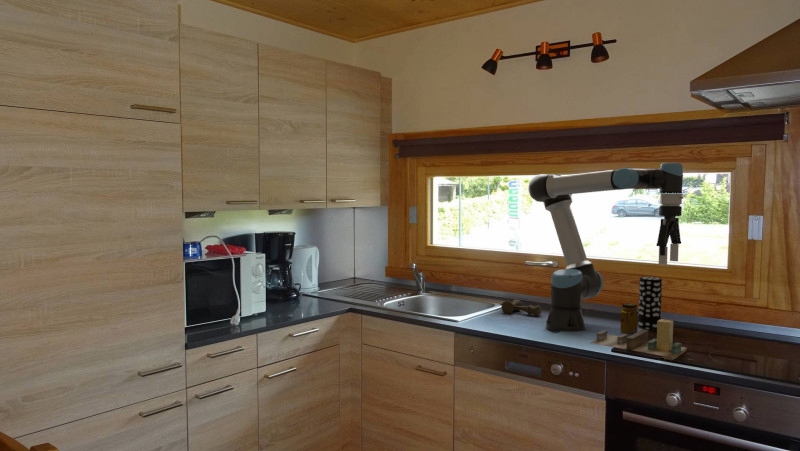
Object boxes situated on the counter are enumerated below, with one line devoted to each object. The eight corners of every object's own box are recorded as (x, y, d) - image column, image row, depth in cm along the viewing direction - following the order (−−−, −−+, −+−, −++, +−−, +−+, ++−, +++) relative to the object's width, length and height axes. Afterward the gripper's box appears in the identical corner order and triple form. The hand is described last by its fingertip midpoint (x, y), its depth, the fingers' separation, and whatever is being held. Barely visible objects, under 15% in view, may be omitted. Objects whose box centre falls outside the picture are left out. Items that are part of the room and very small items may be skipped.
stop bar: (656, 349, 198) (657, 320, 197) (660, 347, 201) (661, 319, 200) (668, 352, 195) (669, 322, 194) (672, 349, 198) (673, 320, 197)
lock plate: (589, 345, 207) (589, 331, 206) (606, 336, 219) (607, 323, 219) (673, 360, 189) (673, 345, 188) (686, 350, 201) (687, 336, 200)
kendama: (534, 319, 250) (494, 312, 263) (544, 316, 258) (504, 309, 270) (535, 306, 250) (494, 299, 263) (545, 303, 257) (505, 296, 270)
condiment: (616, 332, 226) (617, 302, 225) (639, 333, 225) (640, 302, 224) (623, 337, 218) (623, 306, 218) (645, 337, 218) (646, 306, 217)
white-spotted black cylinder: (662, 326, 236) (663, 277, 235) (658, 330, 229) (660, 280, 228) (640, 323, 240) (641, 276, 239) (636, 327, 234) (637, 278, 232)
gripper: (671, 206, 201) (669, 266, 202) (690, 204, 219) (688, 260, 221) (648, 205, 205) (646, 265, 207) (669, 204, 224) (667, 258, 226)
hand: (668, 262), depth 214 cm, fingers open, 13 cm apart
